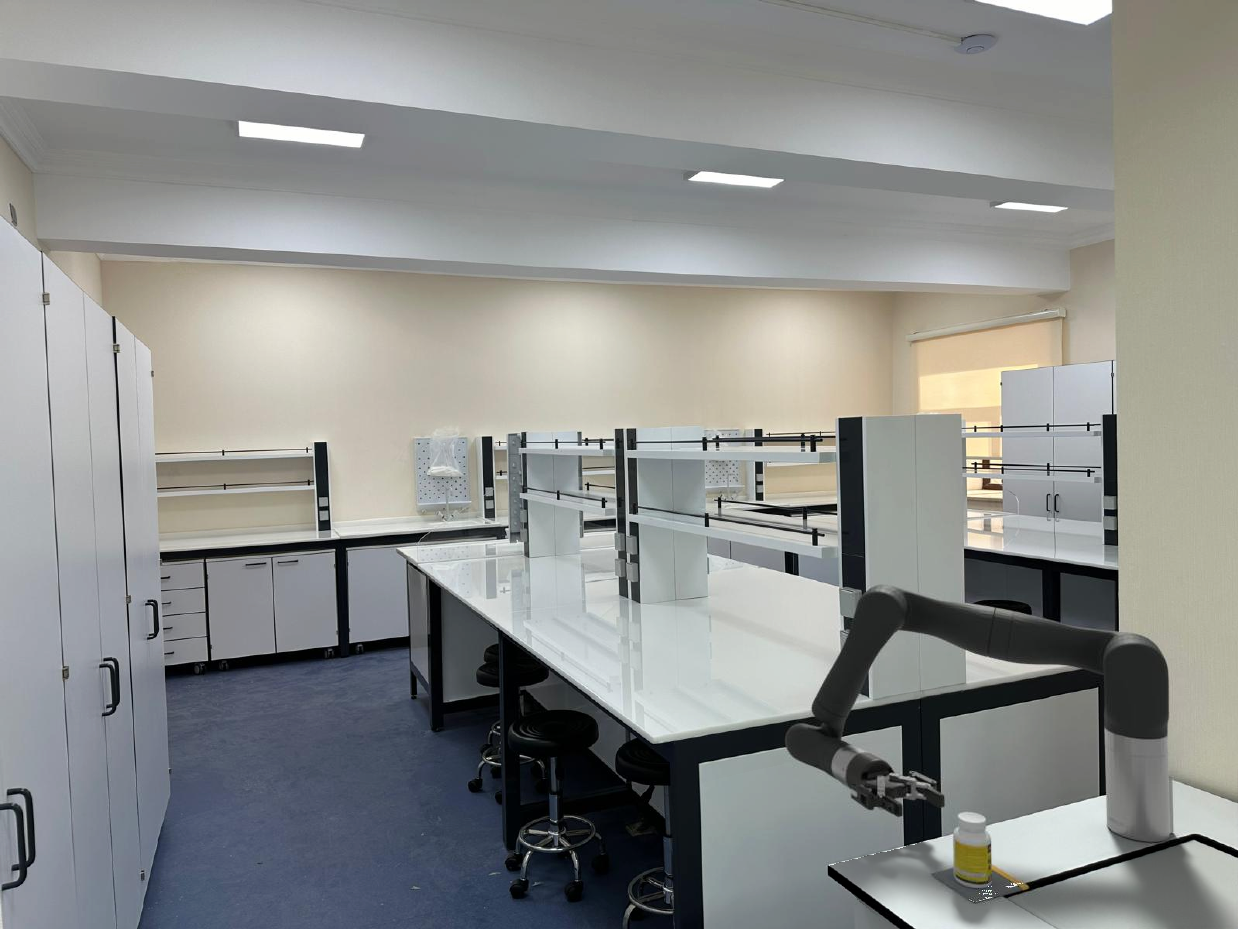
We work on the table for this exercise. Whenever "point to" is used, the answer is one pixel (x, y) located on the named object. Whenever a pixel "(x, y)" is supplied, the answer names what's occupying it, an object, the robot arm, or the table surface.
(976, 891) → the mat
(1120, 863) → the table surface
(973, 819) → the supplement bottle
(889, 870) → the table surface
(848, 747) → the robot arm
